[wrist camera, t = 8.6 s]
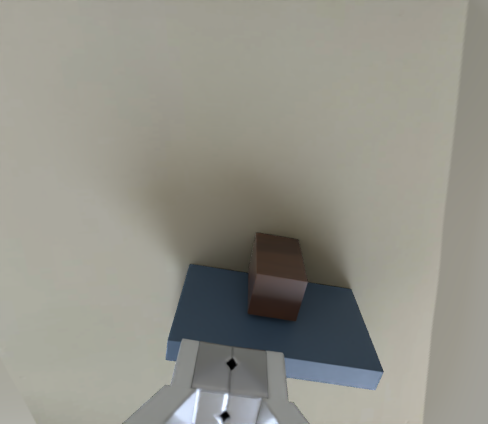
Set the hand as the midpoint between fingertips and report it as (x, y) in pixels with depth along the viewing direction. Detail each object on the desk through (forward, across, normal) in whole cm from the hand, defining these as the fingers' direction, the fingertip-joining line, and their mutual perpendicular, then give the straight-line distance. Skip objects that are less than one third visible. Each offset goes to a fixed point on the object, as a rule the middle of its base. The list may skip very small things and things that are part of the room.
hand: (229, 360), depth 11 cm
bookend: (+22, -4, +16) cm, 27 cm away
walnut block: (+18, -4, +9) cm, 21 cm away
